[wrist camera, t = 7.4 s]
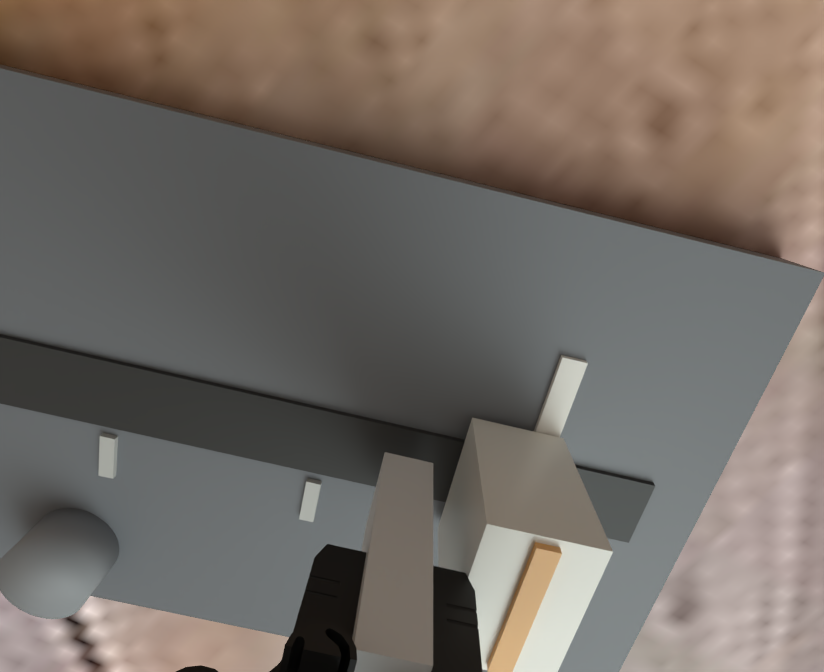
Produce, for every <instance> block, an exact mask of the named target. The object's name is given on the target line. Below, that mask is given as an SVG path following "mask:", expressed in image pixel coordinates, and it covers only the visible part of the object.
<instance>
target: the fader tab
mask: <svg viewBox="0 0 824 672" xmlns="http://www.w3.org/2000/svg"><path fill="white" fill-rule="evenodd" d="M612 553H613V550H612V548H611V546H610V543H609V541H608V539H607V537H606V534H605V532H604V530H603V527H602V525H601V523H600V521H599V518H598V516H597V514H596V511H595V509H594V507H593V505H592V502H591V500H590V498H589V496H588V493H587V491H586V489H585V486H584V484H583V482H582V480H581V477H580V475H579V473H578V470H577V468H576V466H575V464H574V461H573V459H572V457H571V454H570V452H569V450H568V448H567V445H566V443H565V441H564V438H560V437H555V436H551V435H547V434H542V433H538V432H534V431H529V430H525V429H520V428H516V427H512V426H507V425H503V424H499V423H494V422H490V421H486V420H481V419H477V418H472V420H471V423H470V426H469V429H468V432H467V436H466V439H465V442H464V445H463V449H462V452H461V455H460V458H459V461H458V465H457V468H456V471H455V474H454V477H453V481H452V484H451V487H450V490H449V494H448V497H447V500H446V503H445V506H444V510H443V513H442V516H441V519H440V523H439V526H438V567H442V568H446V569H451V570H455V571H460V572H464V573H466V575H467V577H468V579H469V581H470V582H471V584H472V586H473V588H474V590H475V597H476V608H477V611H476V613H477V618H478V629H479V640H480V651H481V662H482V669H483V670H487V671H488V672H558V670H559V668H560V666H561V664H562V661H563V659H564V657H565V655H566V653H567V651H568V648H569V646H570V644H571V642H572V640H573V638H574V636H575V633H576V631H577V629H578V627H579V625H580V623H581V620H582V618H583V616H584V614H585V612H586V610H587V607H588V605H589V603H590V601H591V599H592V597H593V594H594V592H595V590H596V588H597V586H598V584H599V581H600V579H601V577H602V575H603V573H604V571H605V568H606V566H607V564H608V562H609V560H610V558H611V555H612Z"/></svg>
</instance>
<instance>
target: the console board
mask: <svg viewBox="0 0 824 672" xmlns="http://www.w3.org/2000/svg"><path fill="white" fill-rule="evenodd" d="M823 277H824V272H821V271H818V270H815V269H812V268H809V267H806V266H803V265H800V264H797V263H794V262H791V261H788V260H785V259H781V258H777V257H773V256H769V255H765V254H761V253H757V252H753V251H749V250H745V249H741V248H737V247H733V246H729V245H725V244H721V243H717V242H713V241H709V240H705V239H701V238H697V237H693V236H689V235H685V234H681V233H677V232H673V231H669V230H665V229H661V228H657V227H653V226H649V225H645V224H640V223H636V222H632V221H628V220H624V219H620V218H616V217H612V216H608V215H604V214H600V213H596V212H592V211H588V210H584V209H580V208H576V207H572V206H568V205H564V204H560V203H556V202H552V201H548V200H544V199H540V198H536V197H532V196H528V195H524V194H520V193H516V192H512V191H508V190H504V189H500V188H496V187H492V186H488V185H484V184H480V183H475V182H471V181H467V180H463V179H459V178H455V177H451V176H447V175H443V174H439V173H435V172H431V171H427V170H423V169H419V168H415V167H411V166H407V165H403V164H399V163H395V162H391V161H387V160H383V159H379V158H375V157H371V156H367V155H363V154H359V153H355V152H351V151H347V150H343V149H339V148H335V147H331V146H327V145H323V144H319V143H315V142H311V141H306V140H302V139H298V138H294V137H290V136H286V135H282V134H278V133H274V132H270V131H266V130H262V129H258V128H254V127H250V126H246V125H242V124H238V123H234V122H230V121H226V120H222V119H218V118H214V117H210V116H206V115H202V114H198V113H194V112H190V111H186V110H182V109H178V108H174V107H170V106H166V105H162V104H158V103H154V102H150V101H146V100H141V99H137V98H133V97H129V96H125V95H121V94H117V93H113V92H109V91H105V90H101V89H97V88H93V87H89V86H85V85H81V84H77V83H73V82H69V81H65V80H61V79H57V78H53V77H49V76H45V75H41V74H37V73H33V72H29V71H25V70H21V69H17V68H13V67H9V66H5V65H1V64H0V591H1V592H2V594H3V595H4V596H5V598H6V599H7V600H8V601H9V602H11V603H12V604H13V605H14V606H16V607H17V608H18V609H20V610H22V611H24V612H26V613H28V614H30V615H33V616H36V617H40V618H46V619H59V618H65V617H68V616H70V615H73V614H74V613H76V612H77V611H78V610H79V609H80V608H81V607H82V606H83V604H84V603H85V602H86V600H87V599H88V598H89V596H94V597H99V598H104V599H109V600H114V601H118V602H123V603H128V604H133V605H138V606H142V607H147V608H152V609H157V610H162V611H166V612H171V613H176V614H181V615H186V616H190V617H195V618H200V619H205V620H210V621H215V622H219V623H224V624H229V625H234V626H239V627H243V628H248V629H253V630H258V631H263V632H267V633H272V634H277V635H282V636H287V637H290V635H291V634H292V633H293V630H294V627H295V623H296V620H297V616H298V613H299V609H300V606H301V603H302V599H303V596H304V593H305V589H306V585H307V582H308V578H309V575H310V571H311V568H312V564H313V561H314V558H315V556H316V555H317V554H318V553H319V552H320V551H321V550H322V549H323V548H324V547H325V546H326V545H327V544H331V545H335V546H340V547H344V548H349V549H353V550H358V551H362V545H363V539H364V534H365V528H366V523H367V519H368V515H369V512H370V508H371V504H372V500H373V496H374V492H375V488H376V484H377V480H378V477H379V473H380V469H381V465H382V461H383V457H384V453H385V452H387V453H391V454H395V455H400V456H404V457H409V458H413V459H417V460H422V461H426V462H431V463H433V566H437V567H438V526H439V523H440V519H441V516H442V513H443V510H444V506H445V503H446V500H447V497H448V494H449V490H450V487H451V484H452V481H453V477H454V474H455V471H456V468H457V465H458V461H459V458H460V455H461V452H462V449H463V445H464V442H465V439H466V436H467V432H468V429H469V426H470V423H471V420H472V418H477V419H481V420H486V421H490V422H494V423H499V424H503V425H507V426H512V427H516V428H520V429H525V430H529V431H534V432H538V433H542V434H547V435H551V436H555V437H560V438H564V441H565V443H566V445H567V448H568V450H569V452H570V454H571V457H572V459H573V461H574V464H575V466H576V468H577V470H578V473H579V475H580V477H581V480H582V482H583V484H584V486H585V489H586V491H587V493H588V496H589V498H590V500H591V502H592V505H593V507H594V509H595V511H596V514H597V516H598V518H599V521H600V523H601V525H602V527H603V530H604V532H605V534H606V537H607V539H608V541H609V543H610V546H611V548H612V550H613V553H612V555H611V558H610V560H609V562H608V564H607V566H606V568H605V571H604V573H603V575H602V577H601V579H600V581H599V584H598V586H597V588H596V590H595V592H594V594H593V597H592V599H591V601H590V603H589V605H588V607H587V610H586V612H585V614H584V616H583V618H582V620H581V623H580V625H579V627H578V629H577V631H576V633H575V636H574V638H573V640H572V642H571V644H570V646H569V648H568V651H567V653H566V655H565V657H564V659H563V661H562V664H561V666H560V668H559V670H558V672H619V671H620V669H621V667H622V665H623V663H624V661H625V659H626V657H627V655H628V653H629V651H630V649H631V647H632V646H633V644H634V642H635V640H636V638H637V636H638V634H639V632H640V630H641V628H642V626H643V624H644V622H645V620H646V618H647V617H648V615H649V613H650V611H651V609H652V607H653V605H654V603H655V601H656V599H657V597H658V595H659V593H660V591H661V590H662V588H663V586H664V584H665V582H666V580H667V578H668V576H669V574H670V572H671V570H672V568H673V566H674V564H675V562H676V561H677V559H678V557H679V555H680V553H681V551H682V549H683V547H684V545H685V543H686V541H687V539H688V537H689V535H690V534H691V532H692V530H693V528H694V526H695V524H696V522H697V520H698V518H699V516H700V514H701V512H702V510H703V508H704V506H705V505H706V503H707V501H708V499H709V497H710V495H711V493H712V491H713V489H714V487H715V485H716V483H717V481H718V479H719V477H720V476H721V474H722V472H723V470H724V468H725V466H726V464H727V462H728V460H729V458H730V456H731V454H732V452H733V450H734V449H735V447H736V445H737V443H738V441H739V439H740V437H741V435H742V433H743V431H744V429H745V427H746V425H747V423H748V421H749V420H750V418H751V416H752V414H753V412H754V410H755V408H756V406H757V404H758V402H759V400H760V398H761V396H762V394H763V392H764V391H765V389H766V387H767V385H768V383H769V381H770V379H771V377H772V375H773V373H774V371H775V369H776V367H777V365H778V364H779V362H780V360H781V358H782V356H783V354H784V352H785V350H786V348H787V346H788V344H789V342H790V340H791V338H792V336H793V335H794V333H795V331H796V329H797V327H798V325H799V323H800V321H801V319H802V317H803V315H804V313H805V311H806V309H807V308H808V306H809V304H810V302H811V300H812V298H813V296H814V294H815V292H816V290H817V288H818V286H819V284H820V282H821V280H822V279H823ZM482 672H488V671H487V670H483V669H482Z"/></svg>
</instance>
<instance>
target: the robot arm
mask: <svg viewBox="0 0 824 672" xmlns="http://www.w3.org/2000/svg"><path fill="white" fill-rule="evenodd" d="M476 611H477V608H476V597H475V590H474V588H473V586H472V584H471V582H470V581H469V579H468V577H467V575H466V573H464V572H460V571H455V570H451V569H446V568H442V567H437V566H433V463H431V462H426V461H422V460H417V459H413V458H409V457H404V456H400V455H395V454H391V453H387V452H385V453H384V457H383V461H382V465H381V469H380V473H379V477H378V480H377V484H376V488H375V492H374V496H373V500H372V504H371V508H370V512H369V515H368V519H367V523H366V528H365V534H364V539H363V545H362V551H358V550H353V549H349V548H344V547H340V546H335V545H331V544H327V545H326V546H325V547H324V548H323V549H322V550H321V551H320V552H319V553H318V554H317V555H316V556H315V558H314V561H313V564H312V568H311V571H310V575H309V578H308V582H307V585H306V589H305V593H304V596H303V599H302V603H301V606H300V609H299V613H298V616H297V620H296V623H295V627H294V630H293V633H292V634H291V635H290V637H289V639H288V641H287V643H286V644H285V648H284V653H283V657H282V660H281V662H280V663H279V664H278V665H277V666H276V667H275V668H273V669H272V670H271V671H270V672H482V662H481V651H480V640H479V629H478V618H477V613H476ZM176 672H218V671H217V670H215V669H213V668H209V667H205V666H192V667H185V668H183V669H181V670H179V671H176Z"/></svg>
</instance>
